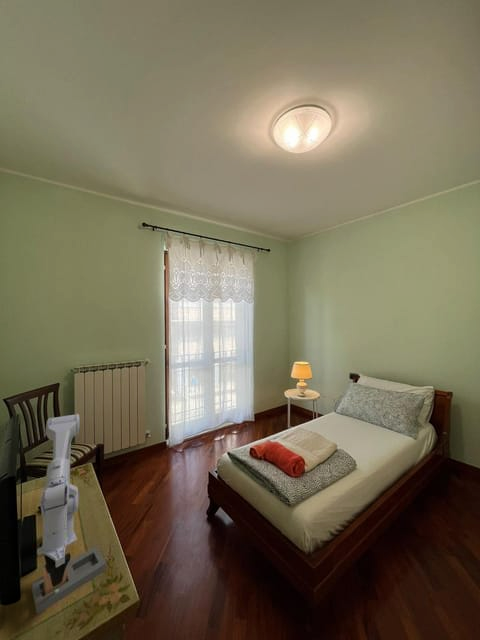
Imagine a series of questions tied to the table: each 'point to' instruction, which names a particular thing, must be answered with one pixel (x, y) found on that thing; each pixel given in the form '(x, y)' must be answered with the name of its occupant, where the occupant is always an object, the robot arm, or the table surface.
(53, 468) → the robot arm
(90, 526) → the table surface
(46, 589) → the tan rectangular block
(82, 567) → the grey slotted tray
